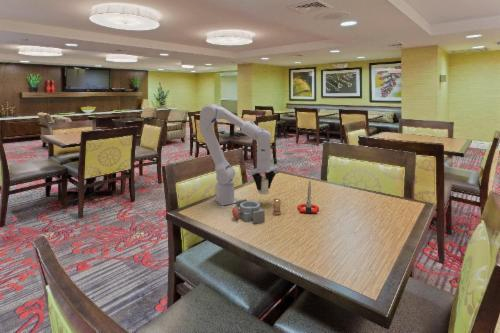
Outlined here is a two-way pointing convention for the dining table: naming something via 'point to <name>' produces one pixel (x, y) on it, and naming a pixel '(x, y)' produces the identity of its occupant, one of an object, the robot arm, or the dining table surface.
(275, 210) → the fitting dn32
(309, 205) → the tow hook
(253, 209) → the valve
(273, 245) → the dining table surface
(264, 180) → the cylinder
